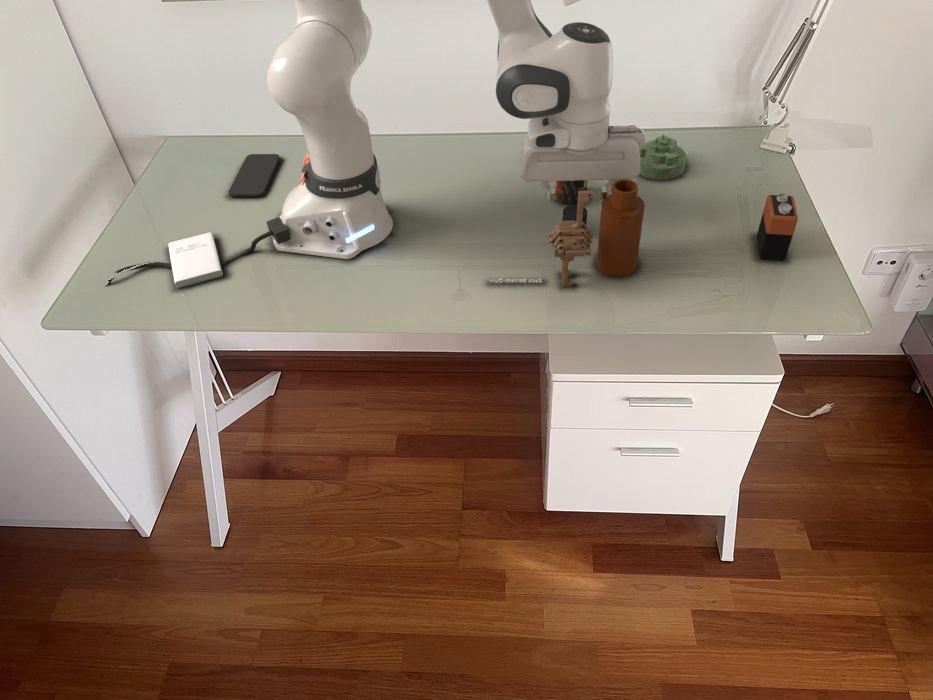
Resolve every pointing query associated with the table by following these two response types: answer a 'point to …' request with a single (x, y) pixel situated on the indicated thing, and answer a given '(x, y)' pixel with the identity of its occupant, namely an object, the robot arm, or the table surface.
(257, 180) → the phone
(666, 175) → the decorative artifact
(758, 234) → the battery
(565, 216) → the bung
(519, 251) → the table surface
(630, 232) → the bottle
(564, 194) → the deodorant
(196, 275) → the white power adapter
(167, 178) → the table surface
